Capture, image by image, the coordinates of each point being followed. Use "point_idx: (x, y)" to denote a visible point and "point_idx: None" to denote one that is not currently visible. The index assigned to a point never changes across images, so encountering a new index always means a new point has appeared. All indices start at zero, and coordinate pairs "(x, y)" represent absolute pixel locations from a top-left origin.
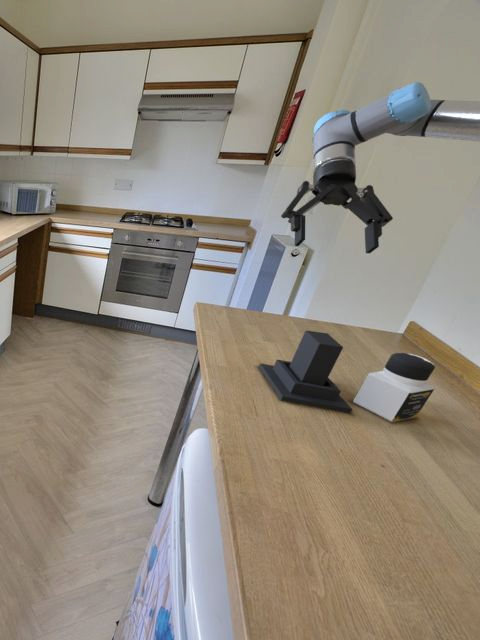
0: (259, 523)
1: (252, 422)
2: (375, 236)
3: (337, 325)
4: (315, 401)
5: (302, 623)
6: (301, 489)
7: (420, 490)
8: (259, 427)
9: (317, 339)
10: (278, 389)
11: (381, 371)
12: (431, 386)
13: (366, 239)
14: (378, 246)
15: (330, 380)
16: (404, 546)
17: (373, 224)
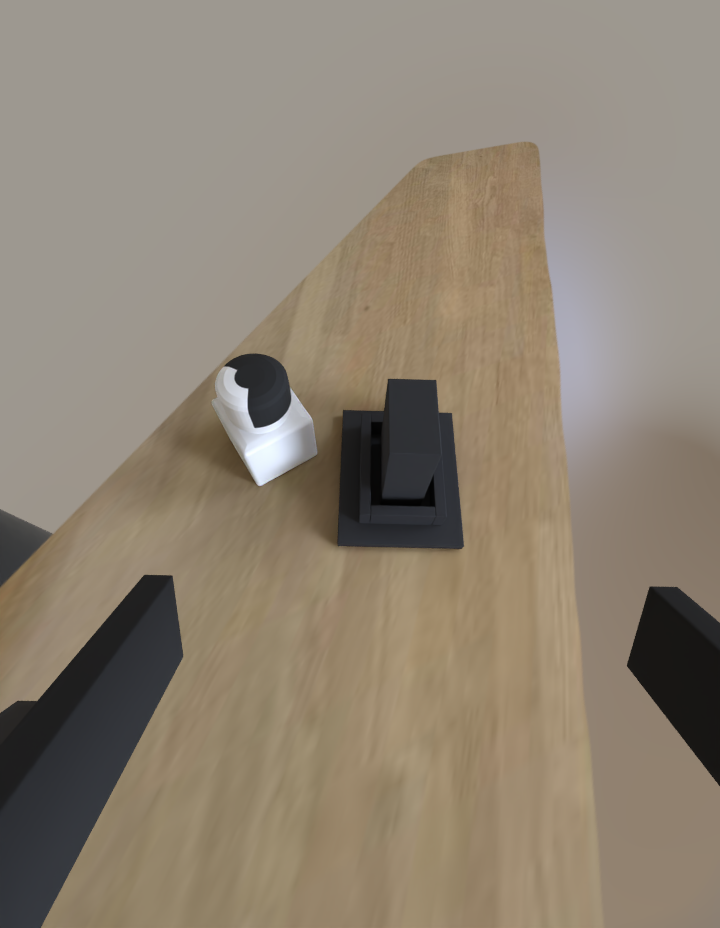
0: (523, 212)
1: (507, 344)
2: (109, 646)
3: None
4: None
5: (508, 161)
6: (475, 253)
7: (347, 282)
8: (499, 336)
9: (432, 402)
10: (452, 435)
11: (280, 433)
12: (217, 399)
13: (121, 753)
14: (146, 575)
15: (362, 450)
16: (409, 220)
17: (10, 796)
